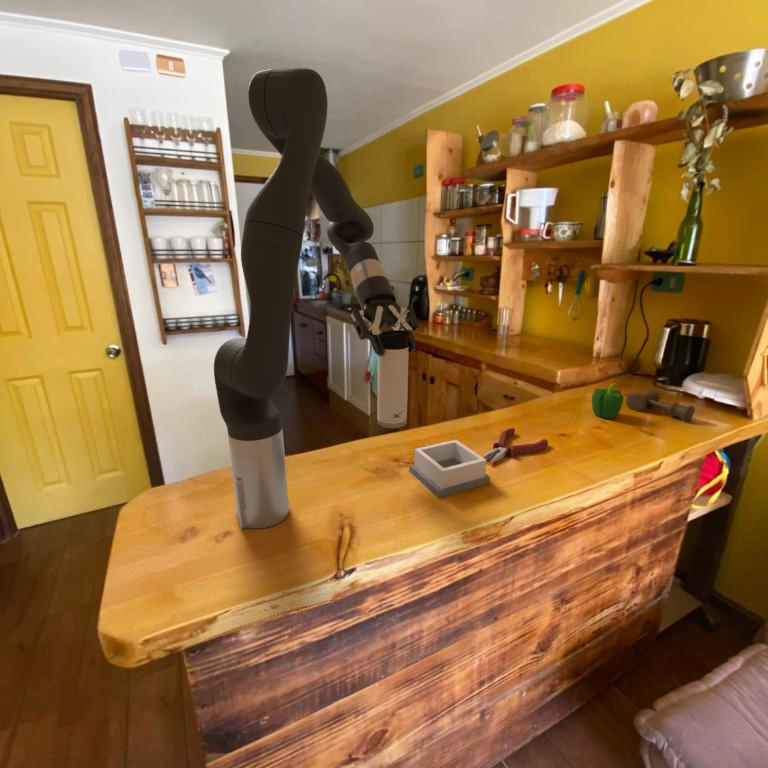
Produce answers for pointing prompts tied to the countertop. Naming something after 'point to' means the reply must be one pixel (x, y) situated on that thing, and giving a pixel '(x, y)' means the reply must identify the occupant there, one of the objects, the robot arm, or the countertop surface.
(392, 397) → the travel mug
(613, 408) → the bell pepper
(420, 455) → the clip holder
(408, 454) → the countertop surface
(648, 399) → the kendama
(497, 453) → the pliers
